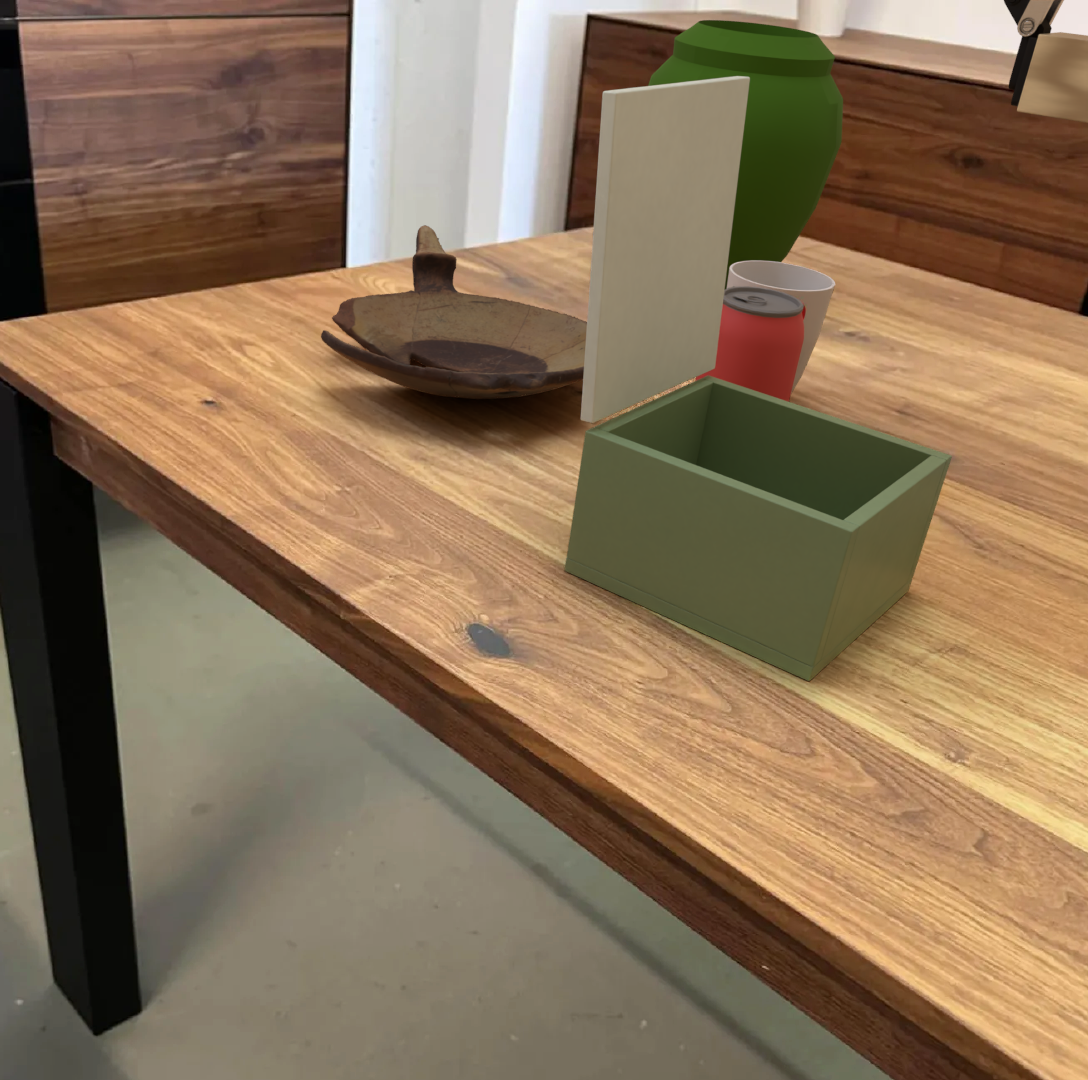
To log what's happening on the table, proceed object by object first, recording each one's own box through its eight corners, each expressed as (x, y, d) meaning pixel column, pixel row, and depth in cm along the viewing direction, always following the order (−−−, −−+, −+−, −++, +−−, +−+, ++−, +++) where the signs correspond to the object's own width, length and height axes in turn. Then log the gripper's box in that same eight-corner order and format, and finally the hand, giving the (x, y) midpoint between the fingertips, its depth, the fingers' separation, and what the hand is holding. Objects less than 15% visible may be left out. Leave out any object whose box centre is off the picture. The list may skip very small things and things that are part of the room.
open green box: (908, 591, 73) (952, 455, 68) (809, 681, 64) (852, 531, 59) (682, 502, 81) (708, 374, 76) (563, 570, 72) (584, 430, 67)
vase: (823, 328, 117) (892, 52, 104) (622, 310, 116) (667, 29, 103) (780, 272, 134) (835, 27, 121) (604, 256, 133) (640, 7, 120)
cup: (688, 395, 98) (712, 272, 93) (729, 371, 104) (754, 254, 99) (782, 424, 95) (812, 297, 89) (819, 398, 100) (850, 277, 95)
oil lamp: (285, 426, 86) (286, 320, 82) (370, 303, 112) (374, 217, 108) (599, 468, 85) (616, 362, 81) (613, 334, 110) (626, 248, 106)
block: (1108, 117, 79) (1133, 41, 76) (1088, 123, 76) (1114, 43, 73) (1037, 106, 81) (1059, 32, 79) (1016, 111, 78) (1038, 33, 76)
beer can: (695, 437, 91) (727, 277, 85) (782, 459, 89) (821, 297, 82) (668, 467, 86) (700, 299, 79) (759, 491, 84) (800, 321, 77)
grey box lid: (750, 76, 68) (737, 75, 68) (616, 92, 58) (602, 90, 59) (715, 368, 76) (703, 366, 76) (592, 424, 66) (579, 420, 67)
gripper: (1349, -224, 67) (1218, 128, 76) (1038, -230, 76) (955, 87, 85) (1330, -241, 62) (1192, 139, 71) (999, -245, 70) (914, 94, 80)
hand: (1064, 107), depth 78 cm, fingers closed on block, 4 cm apart
